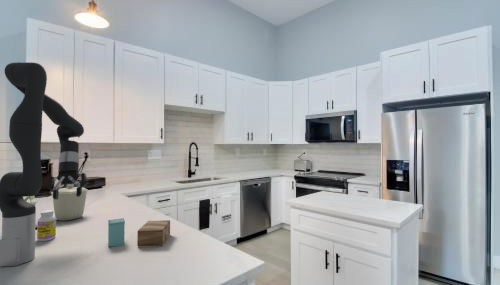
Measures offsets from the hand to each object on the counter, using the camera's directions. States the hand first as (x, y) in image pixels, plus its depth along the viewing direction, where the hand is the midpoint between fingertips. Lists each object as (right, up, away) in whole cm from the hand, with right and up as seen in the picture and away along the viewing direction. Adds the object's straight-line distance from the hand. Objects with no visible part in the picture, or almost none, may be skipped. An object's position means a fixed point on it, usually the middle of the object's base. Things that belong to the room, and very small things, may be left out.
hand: (67, 197), depth 110 cm
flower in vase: (-35, -21, +20) cm, 45 cm away
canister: (-27, -21, +39) cm, 52 cm away
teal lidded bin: (+22, -20, -1) cm, 30 cm away
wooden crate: (+38, -20, +2) cm, 43 cm away
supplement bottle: (-13, -21, +5) cm, 25 cm away
